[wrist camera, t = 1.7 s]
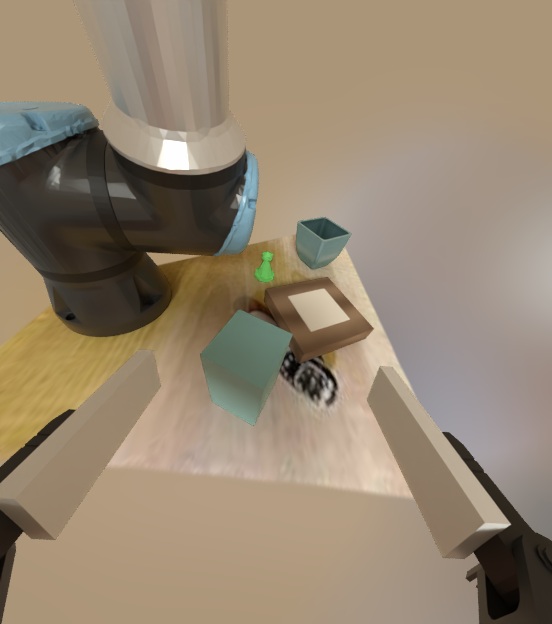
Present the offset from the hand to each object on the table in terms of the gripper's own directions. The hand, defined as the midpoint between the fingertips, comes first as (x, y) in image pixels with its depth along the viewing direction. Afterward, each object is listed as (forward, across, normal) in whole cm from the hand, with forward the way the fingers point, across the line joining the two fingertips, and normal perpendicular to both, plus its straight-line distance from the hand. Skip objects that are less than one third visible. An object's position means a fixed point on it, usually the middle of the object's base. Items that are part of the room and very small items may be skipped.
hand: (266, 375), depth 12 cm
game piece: (+34, -2, -4) cm, 34 cm away
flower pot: (+42, +9, -1) cm, 43 cm away
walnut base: (+24, +8, -8) cm, 26 cm away
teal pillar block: (+10, -3, -13) cm, 17 cm away
